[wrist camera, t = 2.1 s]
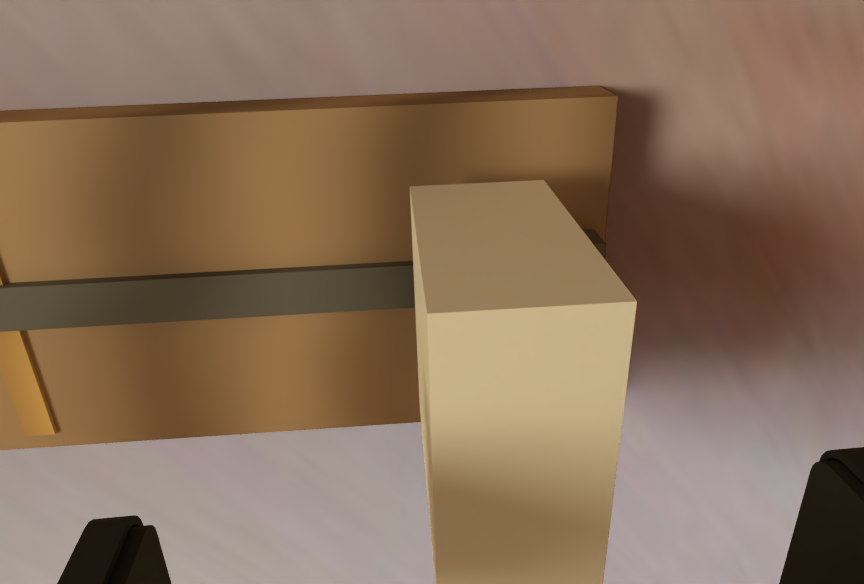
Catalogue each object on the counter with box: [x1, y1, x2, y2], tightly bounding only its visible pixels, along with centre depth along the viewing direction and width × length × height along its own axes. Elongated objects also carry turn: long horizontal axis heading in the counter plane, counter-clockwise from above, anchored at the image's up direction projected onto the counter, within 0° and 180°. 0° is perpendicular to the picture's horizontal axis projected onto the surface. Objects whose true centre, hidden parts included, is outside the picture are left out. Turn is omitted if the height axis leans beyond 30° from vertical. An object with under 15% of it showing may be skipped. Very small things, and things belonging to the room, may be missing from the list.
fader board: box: [0, 86, 618, 450], centre depth 17 cm, size 22×9×2 cm, turn 92°
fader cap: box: [410, 180, 637, 584], centre depth 14 cm, size 3×6×7 cm, turn 2°
